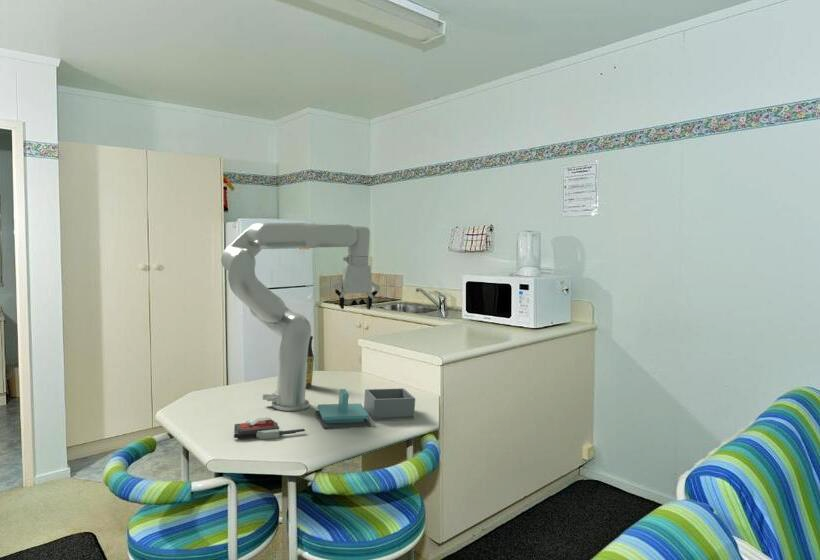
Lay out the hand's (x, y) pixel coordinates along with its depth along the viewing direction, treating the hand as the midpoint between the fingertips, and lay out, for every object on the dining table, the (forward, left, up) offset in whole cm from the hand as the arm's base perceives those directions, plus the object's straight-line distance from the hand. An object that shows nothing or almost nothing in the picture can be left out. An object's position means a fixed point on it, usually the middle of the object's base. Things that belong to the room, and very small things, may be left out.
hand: (355, 308), depth 193 cm
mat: (-7, -21, -33) cm, 40 cm away
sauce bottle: (-14, +19, -33) cm, 41 cm away
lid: (-7, -21, -33) cm, 39 cm away
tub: (+9, -18, -33) cm, 39 cm away
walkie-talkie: (-31, -30, -34) cm, 55 cm away
